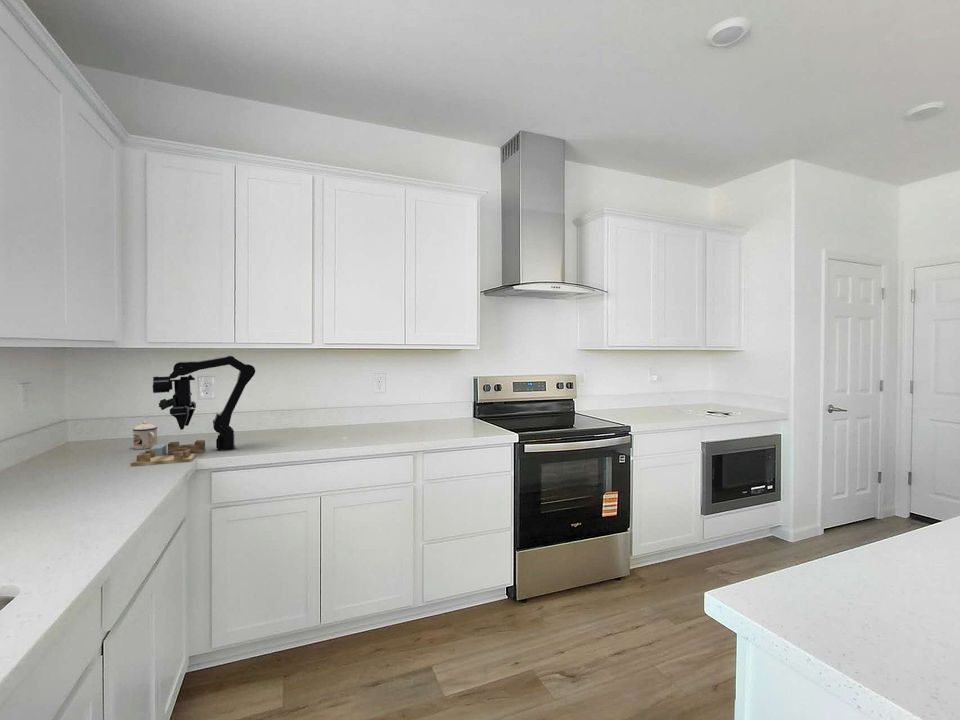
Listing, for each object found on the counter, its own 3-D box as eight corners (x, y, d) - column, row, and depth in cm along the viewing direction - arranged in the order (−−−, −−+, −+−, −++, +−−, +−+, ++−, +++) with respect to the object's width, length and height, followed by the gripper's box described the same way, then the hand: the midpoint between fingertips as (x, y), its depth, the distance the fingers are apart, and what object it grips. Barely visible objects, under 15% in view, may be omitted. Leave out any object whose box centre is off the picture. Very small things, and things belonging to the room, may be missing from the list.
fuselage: (205, 451, 203) (205, 439, 203) (203, 453, 199) (203, 441, 199) (170, 453, 198) (170, 442, 198) (167, 455, 194) (167, 444, 194)
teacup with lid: (128, 448, 207) (128, 422, 207) (151, 444, 215) (150, 419, 215) (142, 451, 201) (142, 424, 201) (165, 447, 209) (164, 421, 209)
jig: (195, 456, 193) (195, 446, 193) (191, 461, 184) (191, 451, 184) (137, 460, 185) (137, 450, 185) (130, 466, 177) (130, 455, 177)
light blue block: (166, 453, 198) (166, 444, 198) (162, 457, 191) (161, 448, 191) (155, 454, 196) (155, 445, 196) (150, 458, 190) (150, 448, 189)
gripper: (166, 390, 203) (167, 425, 204) (153, 394, 186) (155, 433, 186) (195, 388, 207) (197, 423, 208) (186, 393, 190) (188, 431, 191)
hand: (184, 427), depth 198 cm, fingers open, 9 cm apart
